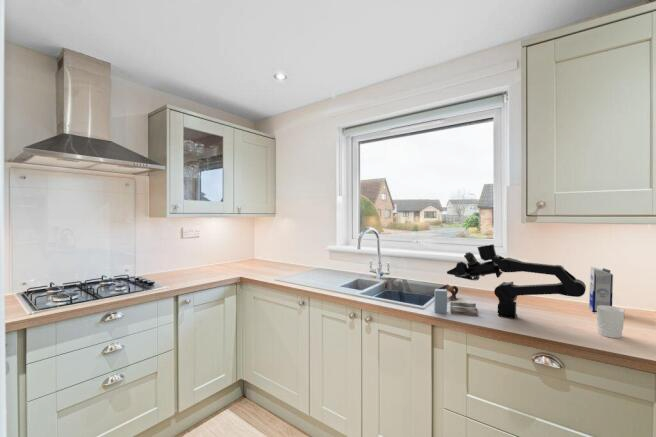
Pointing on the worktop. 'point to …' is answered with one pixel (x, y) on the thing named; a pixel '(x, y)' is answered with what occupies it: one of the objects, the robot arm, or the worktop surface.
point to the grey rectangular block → (440, 301)
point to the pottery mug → (451, 289)
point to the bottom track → (463, 308)
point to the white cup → (610, 321)
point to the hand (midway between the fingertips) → (451, 274)
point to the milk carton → (600, 288)
